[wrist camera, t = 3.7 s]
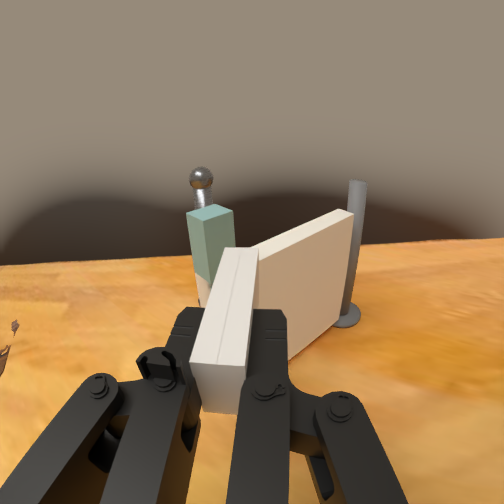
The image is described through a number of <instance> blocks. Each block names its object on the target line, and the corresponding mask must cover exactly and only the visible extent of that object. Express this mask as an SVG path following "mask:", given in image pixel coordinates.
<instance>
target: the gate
mask: <svg viewBox="0 0 504 504" xmlns="http://www.w3.org/2000/svg"><path fill="white" fill-rule="evenodd" d="M366 193H367V182H366V181H363V180H356V179H353V180H350V182H349V196H348V207H347V211H344V210H341V209H337V210H335V211H332V212H330V213H328V214H326V215H323V216H321V217H319V218H316V219H314V220H312V221H310V222H307V223H305V224H303V225H301V226H298V227H296V228H294V229H291V230H289V231H287V232H285V233H282V234H280V235H278V236H275V237H273V238H271V239H269V240H266V241H264V242H262V243H260V244H257V245H255V246H253V247H251V248H259V306H258V309H281V310H282V312H283V313H284V315H285V317H286V318H287V342H288V360H290V359H291V358H292V357H294V356H295V355H296V354H297V353H299V352H300V351H301V350H302V349H304V348H305V347H306V346H307V345H309V344H310V343H311V342H312V341H314V340H315V339H316V338H317V337H318V336H320V335H321V334H322V333H323V332H324V331H326V330H327V329H328V328H329V327H330V326H332V325H333V324H334V323H335V322H336V321H337V320H338V319H339V315H346V314H348V312H349V307H350V302H351V297H352V291H353V286H354V280H355V275H356V269H357V263H358V256H359V250H360V243H361V235H362V228H363V220H364V212H365V202H366ZM186 215H187V223H188V230H189V237H190V243H191V251H192V257H193V264H194V270H195V276H196V282H197V288H198V294H199V300H200V306H201V308H206V305H207V302H208V299H209V295H210V292H211V289H212V286H213V283H214V280H215V276H216V273H217V270H218V267H219V264H220V261H221V258H222V255H223V252H224V249H225V247H228V248H235V236H234V223H233V222H234V221H233V211H232V210H229V209H227V208H224V207H221V206H219V205H216V204H213V205H210V206H206V207H203V208H200V209H197V210H194V211H191V212H188V213H186Z"/></svg>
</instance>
